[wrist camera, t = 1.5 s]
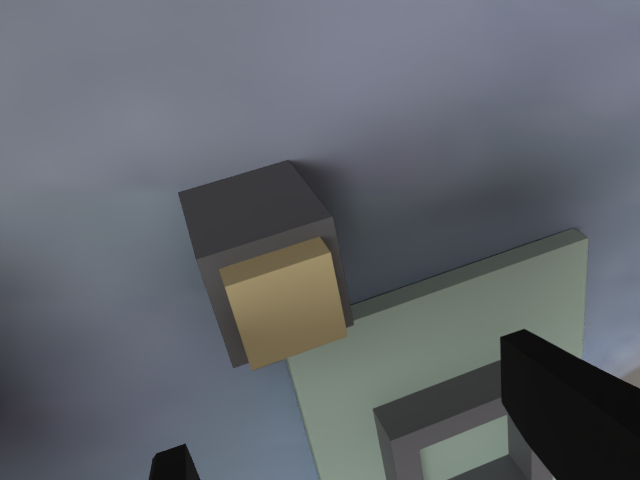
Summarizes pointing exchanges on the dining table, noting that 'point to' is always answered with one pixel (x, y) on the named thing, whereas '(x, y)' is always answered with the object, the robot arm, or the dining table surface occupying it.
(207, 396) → the dining table surface
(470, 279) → the end holder
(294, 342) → the connector plug
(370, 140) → the dining table surface
